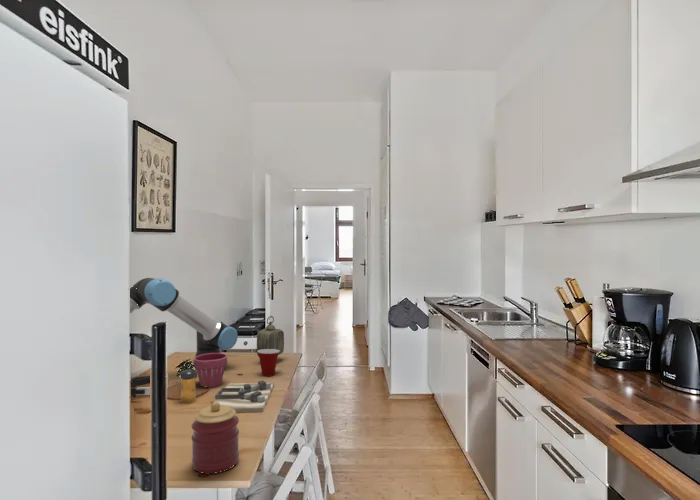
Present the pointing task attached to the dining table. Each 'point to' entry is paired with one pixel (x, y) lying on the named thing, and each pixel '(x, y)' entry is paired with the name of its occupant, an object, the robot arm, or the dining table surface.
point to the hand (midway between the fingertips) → (161, 385)
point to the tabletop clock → (270, 338)
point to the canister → (215, 439)
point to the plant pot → (210, 368)
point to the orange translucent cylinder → (188, 386)
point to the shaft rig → (245, 396)
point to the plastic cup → (268, 361)
